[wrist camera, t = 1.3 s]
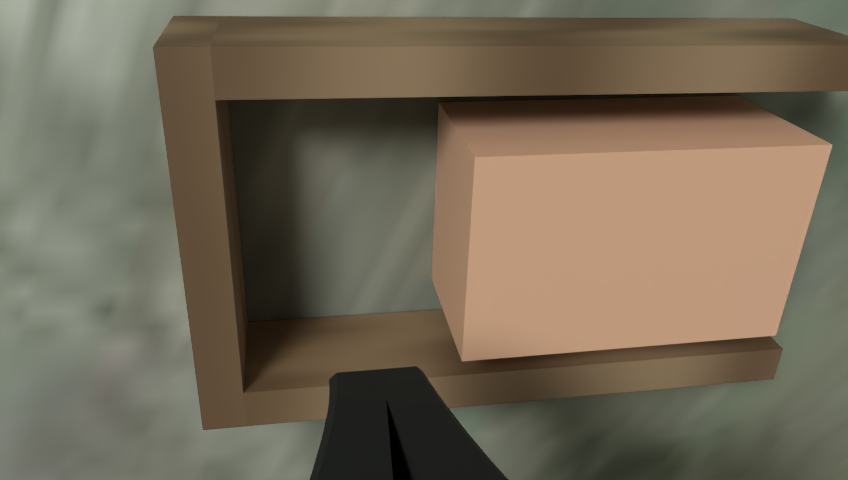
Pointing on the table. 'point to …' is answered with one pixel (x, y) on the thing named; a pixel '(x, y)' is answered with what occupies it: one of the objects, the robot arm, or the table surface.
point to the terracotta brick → (617, 222)
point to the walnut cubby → (431, 77)
